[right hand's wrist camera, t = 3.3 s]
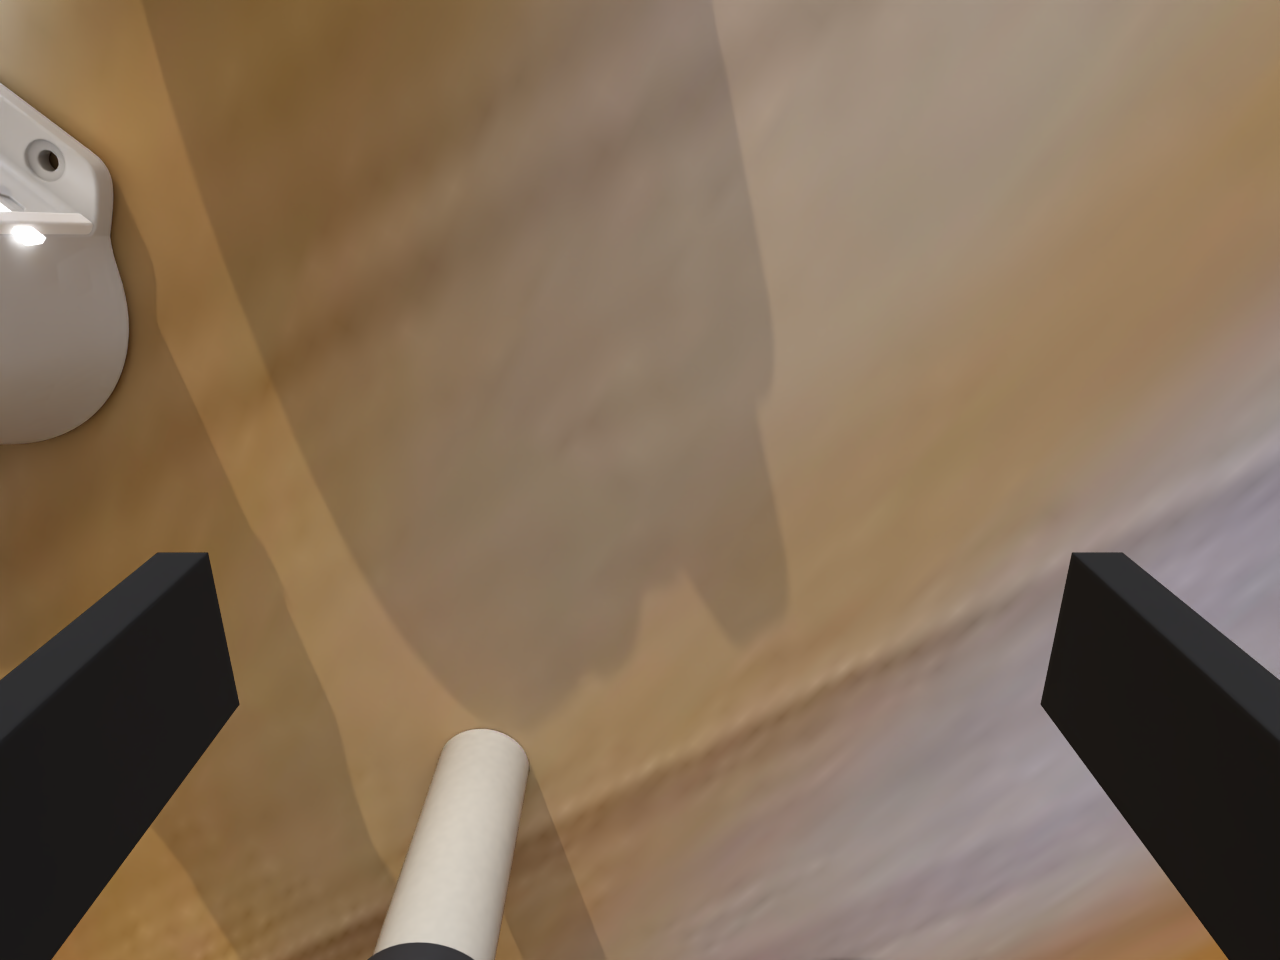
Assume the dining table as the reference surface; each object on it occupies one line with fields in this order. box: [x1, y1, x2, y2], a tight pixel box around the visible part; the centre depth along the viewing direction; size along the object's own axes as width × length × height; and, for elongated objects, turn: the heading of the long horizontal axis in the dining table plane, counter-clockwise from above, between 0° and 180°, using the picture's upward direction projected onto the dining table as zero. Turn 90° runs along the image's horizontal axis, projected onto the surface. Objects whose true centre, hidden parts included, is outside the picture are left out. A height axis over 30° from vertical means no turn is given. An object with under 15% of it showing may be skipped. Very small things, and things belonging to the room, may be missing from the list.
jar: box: [372, 729, 529, 960], centre depth 41 cm, size 5×5×16 cm
